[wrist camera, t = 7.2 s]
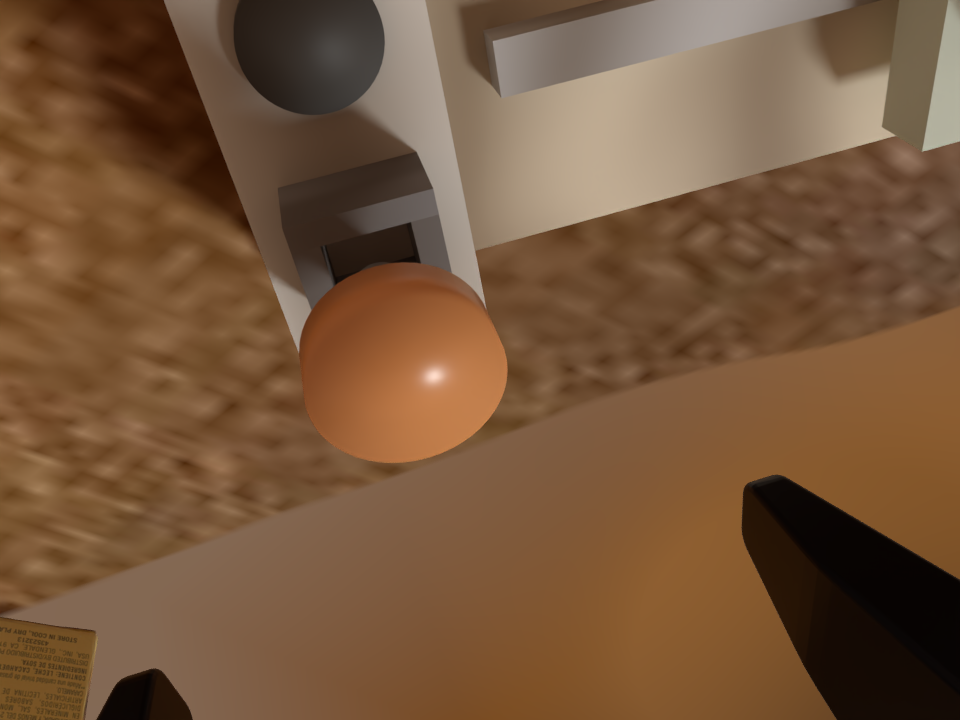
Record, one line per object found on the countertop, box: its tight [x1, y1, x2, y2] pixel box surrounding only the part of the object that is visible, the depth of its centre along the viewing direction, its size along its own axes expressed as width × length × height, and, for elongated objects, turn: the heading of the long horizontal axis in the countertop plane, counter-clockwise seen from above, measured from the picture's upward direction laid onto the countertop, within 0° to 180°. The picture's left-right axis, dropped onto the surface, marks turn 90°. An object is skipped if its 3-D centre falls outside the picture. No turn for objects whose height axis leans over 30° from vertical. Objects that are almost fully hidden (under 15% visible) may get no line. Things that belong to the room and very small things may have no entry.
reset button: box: [299, 262, 507, 463], centre depth 13 cm, size 3×3×3 cm
